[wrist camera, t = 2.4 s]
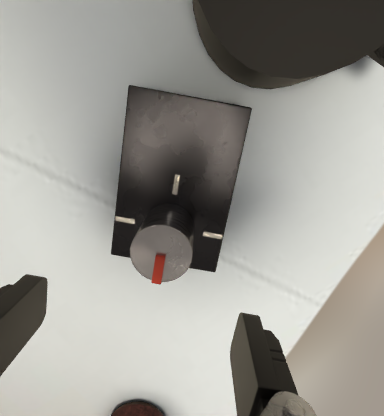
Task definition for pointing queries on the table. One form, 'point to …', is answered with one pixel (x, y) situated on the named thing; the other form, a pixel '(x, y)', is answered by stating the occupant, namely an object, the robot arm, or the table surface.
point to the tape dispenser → (289, 37)
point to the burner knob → (163, 244)
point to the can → (137, 410)
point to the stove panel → (179, 166)
